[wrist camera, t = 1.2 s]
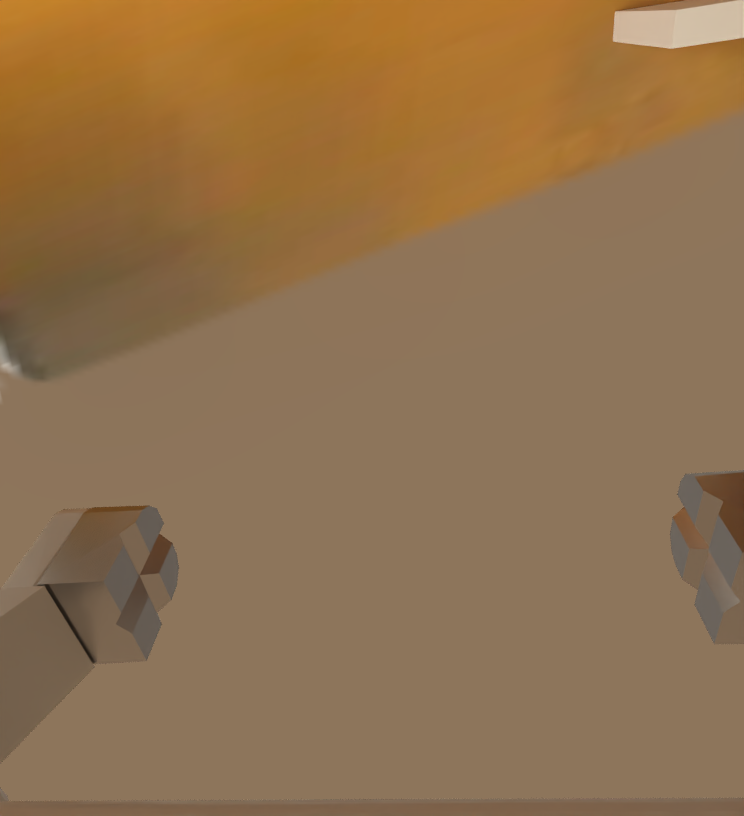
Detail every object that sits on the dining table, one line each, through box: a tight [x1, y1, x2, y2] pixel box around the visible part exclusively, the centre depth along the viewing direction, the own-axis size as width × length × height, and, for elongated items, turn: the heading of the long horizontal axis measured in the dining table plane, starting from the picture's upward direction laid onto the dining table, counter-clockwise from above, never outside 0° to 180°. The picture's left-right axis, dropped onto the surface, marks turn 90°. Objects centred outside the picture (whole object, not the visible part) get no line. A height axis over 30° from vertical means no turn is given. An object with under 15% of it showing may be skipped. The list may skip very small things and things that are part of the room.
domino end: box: [613, 0, 744, 49], centre depth 33 cm, size 2×5×10 cm, turn 98°
